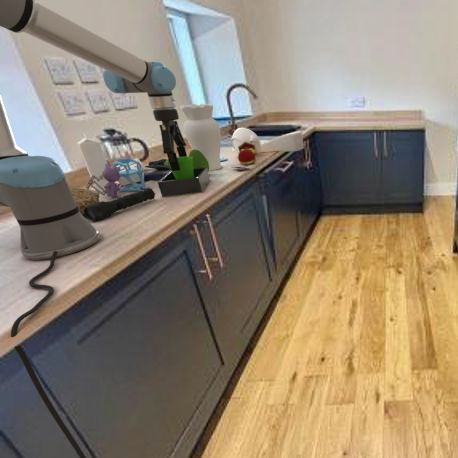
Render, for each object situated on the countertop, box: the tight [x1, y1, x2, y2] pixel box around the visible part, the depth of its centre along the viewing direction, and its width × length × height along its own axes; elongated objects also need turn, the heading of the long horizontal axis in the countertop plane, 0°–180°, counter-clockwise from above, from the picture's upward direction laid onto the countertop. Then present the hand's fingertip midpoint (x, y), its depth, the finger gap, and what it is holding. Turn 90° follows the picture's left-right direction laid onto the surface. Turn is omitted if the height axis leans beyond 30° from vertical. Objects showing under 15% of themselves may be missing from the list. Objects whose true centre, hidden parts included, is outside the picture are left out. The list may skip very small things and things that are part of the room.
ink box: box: [117, 157, 145, 187], centre depth 149 cm, size 8×5×12 cm
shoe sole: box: [257, 130, 305, 154], centre depth 202 cm, size 36×13×10 cm, turn 87°
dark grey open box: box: [157, 167, 211, 198], centre depth 139 cm, size 18×14×6 cm
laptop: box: [230, 165, 251, 170], centre depth 163 cm, size 7×6×2 cm
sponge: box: [70, 187, 101, 215], centre depth 117 cm, size 13×8×20 cm
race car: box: [144, 158, 171, 169], centre depth 159 cm, size 15×7×4 cm, turn 173°
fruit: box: [188, 149, 209, 172], centre depth 153 cm, size 8×8×12 cm
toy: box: [220, 157, 228, 162], centre depth 184 cm, size 14×1×10 cm
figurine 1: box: [103, 163, 121, 198], centre depth 131 cm, size 5×7×12 cm
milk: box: [76, 133, 116, 193], centre depth 137 cm, size 6×6×22 cm
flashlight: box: [83, 187, 156, 222], centre depth 117 cm, size 5×21×5 cm, turn 162°
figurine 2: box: [237, 141, 258, 166], centre depth 176 cm, size 9×10×15 cm
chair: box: [112, 158, 147, 192], centre depth 138 cm, size 8×8×12 cm
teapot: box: [230, 127, 261, 154], centre depth 188 cm, size 25×16×12 cm
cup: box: [166, 155, 194, 180], centre depth 137 cm, size 9×9×11 cm
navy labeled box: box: [144, 168, 172, 181], centre depth 156 cm, size 18×3×10 cm
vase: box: [178, 102, 222, 172], centre depth 162 cm, size 15×15×29 cm
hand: (180, 166), depth 136 cm, fingers open, 13 cm apart
